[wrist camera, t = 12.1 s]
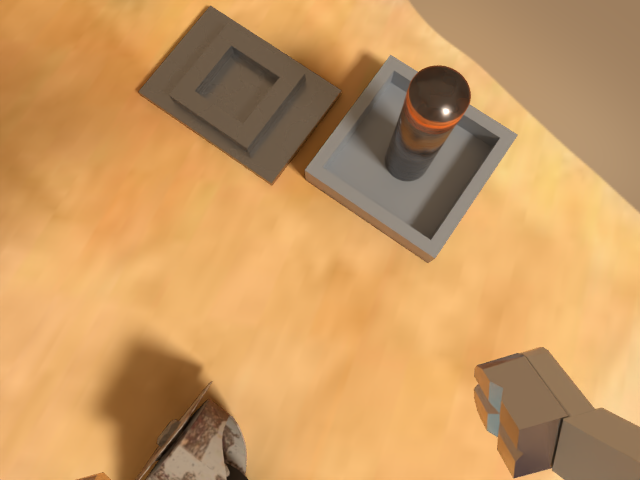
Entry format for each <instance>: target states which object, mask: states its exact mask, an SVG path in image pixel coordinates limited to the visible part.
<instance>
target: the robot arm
mask: <svg viewBox="0 0 640 480" xmlns="http://www.w3.org/2000/svg"><path fill="white" fill-rule="evenodd" d="M474 377H475V378H476V380H477V382H478V385H477V386H476V387H475V388H474V399H475V403H476V407H477V411H478V413H479V416H480V418H481V420H482V422H483V424H484V426H485V428H486V430H487V431H489V432H490V433H492V434H493V435H495V436H497V437H498V445H497V450H498V452H499V453H500V455H501V457H502V459H503V461H504V463H505V464H506V466H507V468H508V470H509V472H510V473H511V475H512V477H513V478H517V477H521V476H525V475H528V474H532V473H536V472H539V471H543V470H547V469H551V468H552V471H554V472H555V473H556V474H558V475H559V476H560V477H562V478H563V479H564V480H640V427H639V426H637V425H635V424H633V423H631V422H629V421H627V420H625V419H623V418H621V417H619V416H617V415H615V414H613V413H612V412H610V411H608V410H606V409H604V408H598V409H594V407H593V406H592V405H591V404H590V402H589V401H588V400H587V399H586V397H585V396H584V395H583V394H582V392H581V391H580V390H579V388H578V387H577V386H576V385H575V383H574V382H573V381H572V380H571V378H570V377H569V376H568V375H567V373H566V372H565V371H564V370H563V368H562V367H561V366H560V365H559V363H558V362H557V361H556V360H555V358H554V357H553V356H552V355H551V353H550V352H549V351H548V350H547V349H545V348H543V347H539V348H535V349H532V350H529V351H526V352H522V353H516V354H513V355H510V356H506V357H503V358H500V359H497V360H493V361H490V362H487V363H483V364H480V365H477V366H476V367H475V371H474ZM77 480H111V479H110V478H109V477H108V476H107V475H106V474H105V473H104V472H102V473H98V474H95V475H91V476H88V477H84V478H80V479H77Z"/></svg>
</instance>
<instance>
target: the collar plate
mask: <svg viewBox="0 0 640 480" xmlns="http://www.w3.org/2000/svg"><path fill="white" fill-rule="evenodd" d="M139 94H140V95H141V96H143V97H144V98H146V99H147V100H148V101H150V102H151V103H153V104H154V105H156V106H157V107H159V108H160V109H161V110H163V111H164V112H166V113H167V114H169V115H170V116H172V117H173V118H175V119H176V120H177V121H179V122H180V123H182V124H183V125H185V126H186V127H188V128H189V129H191V130H192V131H193V132H195V133H196V134H198V135H199V136H201V137H202V138H204V139H205V140H207V141H208V142H209V143H211V144H212V145H214V146H215V147H217V148H218V149H220V150H221V151H222V152H224V153H225V154H227V155H228V156H230V157H231V158H233V159H234V160H236V161H237V162H238V163H240V164H241V165H243V166H244V167H246V168H247V169H249V170H250V171H252V172H253V173H254V174H256V175H257V176H259V177H260V178H262V179H263V180H265V181H266V182H268V183H269V184H270V185H273V184H274V182H275V181H276V180H277V179H278V177H279V176H280V175H281V173H282V172H283V171H284V169H285V168H286V167H287V165H288V164H289V163H290V161H291V160H292V159H293V157H294V156H295V155H296V153H297V152H298V151H299V149H300V148H301V147H302V145H303V144H304V143H305V141H306V140H307V139H308V137H309V136H310V135H311V133H312V132H313V131H314V129H315V128H316V127H317V125H318V124H319V123H320V121H321V120H322V119H323V117H324V116H325V115H326V113H327V112H328V111H329V109H330V108H331V107H332V105H333V104H334V103H335V102H336V100H337V99H338V98H339V96H340V95H341V90H340V89H338V88H337V87H335V86H334V85H332V84H331V83H329V82H328V81H326V80H324V79H323V78H321V77H320V76H318V75H317V74H315V73H314V72H312V71H311V70H309V69H308V68H306V67H304V66H303V65H301V64H300V63H298V62H297V61H295V60H294V59H292V58H291V57H289V56H287V55H286V54H284V53H283V52H281V51H280V50H278V49H277V48H275V47H274V46H272V45H270V44H269V43H267V42H266V41H264V40H263V39H261V38H260V37H258V36H257V35H255V34H254V33H252V32H250V31H249V30H247V29H246V28H244V27H243V26H241V25H240V24H238V23H237V22H235V21H233V20H232V19H230V18H229V17H227V16H226V15H224V14H223V13H221V12H220V11H218V10H216V9H215V8H213V7H212V6H210V7H209V8H208V9H207V10H206V11H205V13H204V14H203V15H202V16H201V17H200V19H199V20H198V21H197V22H196V23H195V25H194V26H193V27H192V28H191V29H190V31H189V32H188V33H187V34H186V35H185V37H184V38H183V39H182V40H181V41H180V43H179V44H178V45H177V46H176V47H175V49H174V50H173V51H172V52H171V53H170V55H169V56H168V57H167V58H166V59H165V60H164V62H163V63H162V64H161V65H160V66H159V68H158V69H157V70H156V71H155V72H154V74H153V75H152V76H151V77H150V78H149V80H148V81H147V82H146V83H145V84H144V86H143V87H142V88H141V89H140V90H139Z"/></svg>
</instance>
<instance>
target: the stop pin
mask: <svg viewBox="0 0 640 480" xmlns="http://www.w3.org/2000/svg"><path fill="white" fill-rule="evenodd" d="M470 98H471V92H470V88H469V85H468V83H467V81H466V80H465V78H464V77H463V76H462V75H461V74H460V73H459V72H457V71H456V70H454V69H452V68H449V67H446V66H430V67H427V68H424V69H422V70H421V71H419V72H418V73H417V74H416V75H415V76H414V77H413V79H412V80H411V82H410V85H409V87H408V90H407V93H406V96H405V99H404V104H403V107H402V110H401V113H400V115H399V118H398V121H397V124H396V127H395V130H394V132H393V135H392V138H391V141H390V144H389V147H388V149H387V152H386V156H385V164H386V167H387V170H388V171H389V173H390V174H391V175H392V176H393V177H395V178H396V179H399V180H401V181H414V180H417V179H419V178H420V177H422V176H423V175H424V174H425V172H426V171H427V169H428V168H429V166H430V165H431V163H432V161H433V160H434V158H435V157H436V155H437V154H438V152H439V150H440V149H441V147H442V146H443V144H444V143H445V141H446V140H447V138H448V136H449V135H450V133H451V132H452V130H453V129H454V127H455V126H456V125H457V124H458V122H459V121H460V119H461V118H462V116H463V114H464V113H465V111H466V110H467V108H468V106H469V103H470Z"/></svg>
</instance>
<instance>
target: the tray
mask: <svg viewBox="0 0 640 480" xmlns="http://www.w3.org/2000/svg"><path fill="white" fill-rule="evenodd" d="M417 73H418V72H417V71H416V70H414V69H412V68H411V67H409V66H408V65H406V64H404V63H403V62H401V61H400V60H398V59H396V58H395V57H393V56H392V55H390V56H389V58H388V59H387V60H386V62H385V63H384V64H383V66H382V67H381V68H380V70H379V71H378V73H377V74H376V75H375V77H374V78H373V79H372V81H371V82H370V83H369V85H368V86H367V87H366V89H365V90H364V91H363V93H362V94H361V95H360V97H359V98H358V99H357V101H356V102H355V103H354V105H353V106H352V107H351V109H350V110H349V111H348V113H347V114H346V115H345V117H344V118H343V119H342V121H341V122H340V124H339V125H338V126H337V128H336V129H335V130H334V132H333V133H332V134H331V136H330V137H329V138H328V140H327V141H326V142H325V144H324V145H323V146H322V148H321V149H320V150H319V152H318V153H317V154H316V156H315V157H314V158H313V160H312V161H311V162H310V164H309V165H308V166H307V168H306V169H305V177H306V181H308V182H309V183H311V184H312V185H314V186H315V187H317V188H318V189H320V190H321V191H323V192H324V193H326V194H327V195H329V196H330V197H331V198H333V199H334V200H336V201H337V202H339V203H340V204H342V205H343V206H345V207H346V208H348V209H349V210H351V211H352V212H354V213H355V214H356V215H358V216H359V217H361V218H362V219H364V220H365V221H367V222H368V223H370V224H371V225H373V226H374V227H376V228H377V229H379V230H380V231H381V232H383V233H384V234H386V235H387V236H389V237H390V238H392V239H393V240H395V241H396V242H398V243H399V244H401V245H402V246H404V247H405V248H406V249H408V250H409V251H411V252H412V253H414V254H415V255H417V256H418V257H420V258H421V259H423V260H424V261H426V262H427V263H429V262H430V261H432V260H433V259H435V258H436V256H437V255H438V253H439V252H440V250H441V249H442V247H443V246H444V244H445V243H446V241H447V240H448V238H449V237H450V235H451V234H452V232H453V231H454V229H455V228H456V226H457V225H458V223H459V222H460V221H461V219H462V218H463V216H464V215H465V213H466V212H467V210H468V209H469V207H470V206H471V204H472V203H473V201H474V200H475V198H476V197H477V195H478V194H479V192H480V191H481V189H482V188H483V186H484V185H485V183H486V182H487V180H488V179H489V177H490V176H491V174H492V173H493V171H494V170H495V168H496V167H497V165H498V164H499V162H500V161H501V159H502V158H503V156H504V155H505V153H506V152H507V150H508V149H509V147H510V146H511V144H512V143H513V141H514V140H515V138H516V137H517V134H516V133H514V132H512V131H511V130H509V129H508V128H506V127H505V126H503V125H501V124H500V123H498V122H497V121H495V120H493V119H492V118H490V117H489V116H487V115H485V114H484V113H482V112H481V111H479V110H477V109H476V108H474V107H473V106H471V105H470V104H469V106H468V108H467V110H466V111H465V113H464V114H463V116H462V118H461V119H460V121H459V122H458V124H457V125H456V126H455V127H454V129H453V130H452V132H451V133H450V135H449V136H448V138H447V140H446V141H445V143H444V144H443V146H442V147H441V149H440V150H439V152H438V154H437V155H436V157H435V158H434V160H433V161H432V163H431V165H430V166H429V168H428V169H427V171H426V172H425V174H424V175H423V176H422V177H420V178H419V179H417V180H414V181H401V180H399V179H396V178H395V177H393V176H392V175H391V174H390V173H389V171H388V170H387V167H386V164H385V156H386V152H387V149H388V147H389V144H390V141H391V138H392V135H393V132H394V130H395V127H396V124H397V121H398V118H399V115H400V113H401V110H402V107H403V104H404V99H405V96H406V93H407V90H408V87H409V85H410V82H411V80H412V79H413V77H414V76H415V75H416V74H417Z"/></svg>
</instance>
